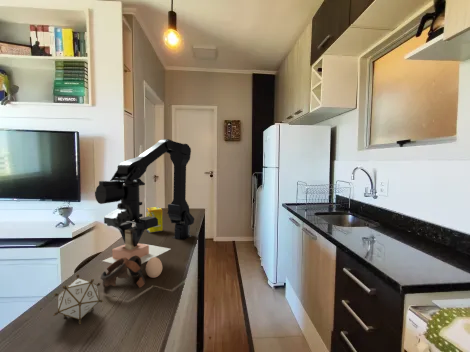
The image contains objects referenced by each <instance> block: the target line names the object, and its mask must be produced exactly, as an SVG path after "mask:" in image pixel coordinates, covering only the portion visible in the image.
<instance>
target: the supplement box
mask: <svg viewBox="0 0 470 352" xmlns="http://www.w3.org/2000/svg"><path fill="white" fill-rule="evenodd" d="M145 210H146V211H145V212H146V216H145V217H147V216H150V217H156V218H157V219H158V226H155V227H152V228H149V229H146V232H147V233H149V234H152V233H160V232H163V231H164V230H163V228H164V227H163V208H161V207H159V206H154V207H146V209H145Z"/></svg>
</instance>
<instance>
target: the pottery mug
mask: <svg viewBox="0 0 470 352" xmlns="http://www.w3.org/2000/svg"><path fill="white" fill-rule="evenodd" d="M141 263H142V262H141V259H140V257H139V256H133V257H131V258H130V259H129V260H128V259H127V258H126V257H124V258H121V259H119V260H117V261H116V262H114V263H110V265H109V266H107V268H106V270H105V271H103V272H102V273H101V274H100V280H102V288H108V287H109V286H112V287H117V283H116V282H117V279H127V278H129V277H130V276H132V277H137V276H138V277H139V279H138V280H137V281H136V285H137V286H138V288H139V289H140V288H142V287H143V286H145V284H146V280H145V277H144V275H143V272H142V268H141V267H142V264H143V263H142V264H141ZM128 271H129V273H130V275H129V273H128Z"/></svg>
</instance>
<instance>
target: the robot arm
mask: <svg viewBox="0 0 470 352" xmlns="http://www.w3.org/2000/svg"><path fill="white" fill-rule="evenodd" d="M164 154H169V158H170V160H171V162H172V164H173V199H172V200H171V203H168V204H167V213H166V214H168V218H169V219H170V223H171V224H174V236H172V237H171V238H172V239H176V240H183V241H184V240H187V239H188V238H191V237H194V236H193V234H191V231H190V230H191V228H190V226H192V225H193V224H194V223H195V218H194V216H193V215H192V213H190V205H189V203H188V202H187V199H186V194H187V193H186V191H187V189H186V188H187V187H186V186H187V165H188V163H189V162H190V160H191V154H192V148H191V147H190V146H189V144H187V143H181V142H178V141H173V140H171V139H169V138H168V139H167V138H165V139H160V140H158V141H157V142H156V143H155V144H153V145H152V146H151V147H149V148H148V149H146V150H145V151H143V152H142V153H141V154H139V155H138V156H136V157H132V158H130V159H127V160H124V161H122V162H120V163H119V164H118V166H117V169H116V171H115V173H114V174H113V176H112V177H111V179H110V180H108V181H107V180H100V181H98V186H96V188H95V191H94V197H95V200H96V202H97V203H98V204H100V205H103V204H104V205H105V204H110V203H117V202H118V203H117V207H116V209H114V210H112V211H110V212H109V213H107V214H106V215H104V218H103V223H104V224H107V227H113V228H115V229H117V230H118V231H119V233H120V234H121V237H122V240H123V243H124V244H125V230H127V229H130V230H131V231H132V235H133V246H134V247H135V246H137V244H138V243H140V240H141V239H142V238H141V237H142V236H143V234H144V232H145V230H147V229H149V228H152V227H155V226H158V219H157V218H156V217H150V216H147V217H146V216H144V217H143V215H144V214H143V213H140V211H141V210H140V207H141V206H143V201H141V200H140V196H141V195H140V186H141V187H142V186H145V185H146V183H145V182H144V181H143V180H141V177H142V176H143V175H145V173H146V171H147V168H148V167H149V166H150V165H152V164H153V163H154V162H155V161H156V160H158V159H159V158H161V157H162V156H163V155H164Z"/></svg>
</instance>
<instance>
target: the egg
mask: <svg viewBox="0 0 470 352" xmlns="http://www.w3.org/2000/svg"><path fill="white" fill-rule="evenodd" d="M146 262H147V263H146V265H145V273H146V275H147V276H148V277H149V278H153V279H154V278H157V277H159V276H160V275H161V273H162V271H163V263H162V261H161V260H160V258H159V257H158V256H156V257H153V258H151V259H150V260H148V261H146Z"/></svg>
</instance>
